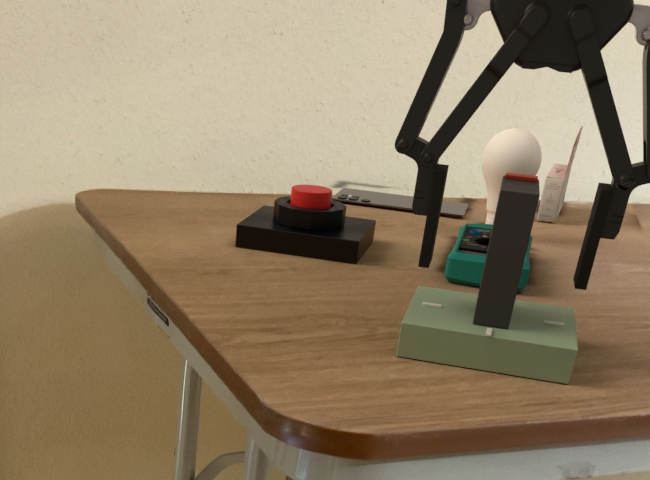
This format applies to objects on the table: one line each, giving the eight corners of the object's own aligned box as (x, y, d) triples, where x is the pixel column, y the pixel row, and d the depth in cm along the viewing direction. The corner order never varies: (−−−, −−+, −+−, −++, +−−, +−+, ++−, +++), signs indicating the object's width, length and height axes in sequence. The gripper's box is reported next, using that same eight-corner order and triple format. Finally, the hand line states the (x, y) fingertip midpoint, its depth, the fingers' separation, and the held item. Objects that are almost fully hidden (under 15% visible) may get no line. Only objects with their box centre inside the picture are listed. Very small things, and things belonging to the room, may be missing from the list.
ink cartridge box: (535, 221, 106) (555, 132, 101) (543, 205, 115) (563, 123, 110) (556, 224, 105) (578, 135, 100) (563, 208, 114) (583, 125, 109)
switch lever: (508, 329, 62) (540, 190, 57) (472, 323, 62) (501, 185, 58) (510, 305, 67) (540, 176, 62) (476, 300, 67) (503, 171, 62)
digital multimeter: (528, 257, 91) (534, 228, 89) (524, 296, 78) (532, 262, 77) (456, 248, 92) (461, 218, 91) (441, 284, 80) (447, 251, 78)
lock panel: (565, 339, 69) (574, 305, 68) (568, 385, 61) (579, 348, 59) (413, 315, 71) (418, 283, 70) (395, 356, 63) (401, 320, 62)
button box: (373, 242, 92) (378, 201, 90) (356, 265, 83) (362, 221, 81) (262, 226, 94) (265, 187, 92) (235, 247, 86) (237, 204, 84)
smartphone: (463, 215, 104) (331, 195, 107) (462, 220, 104) (330, 200, 107) (468, 203, 110) (343, 185, 113) (467, 208, 110) (343, 189, 114)
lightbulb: (489, 245, 94) (513, 132, 88) (455, 231, 99) (476, 123, 93) (534, 243, 96) (560, 133, 90) (499, 229, 101) (522, 124, 95)
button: (334, 206, 88) (336, 187, 87) (325, 214, 85) (328, 194, 84) (295, 201, 89) (296, 182, 88) (285, 208, 86) (287, 189, 85)
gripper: (781, -93, 52) (661, 282, 64) (399, -115, 57) (353, 240, 68) (815, -106, 46) (675, 312, 58) (383, -129, 50) (335, 264, 62)
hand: (501, 273), depth 63 cm, fingers open, 10 cm apart
